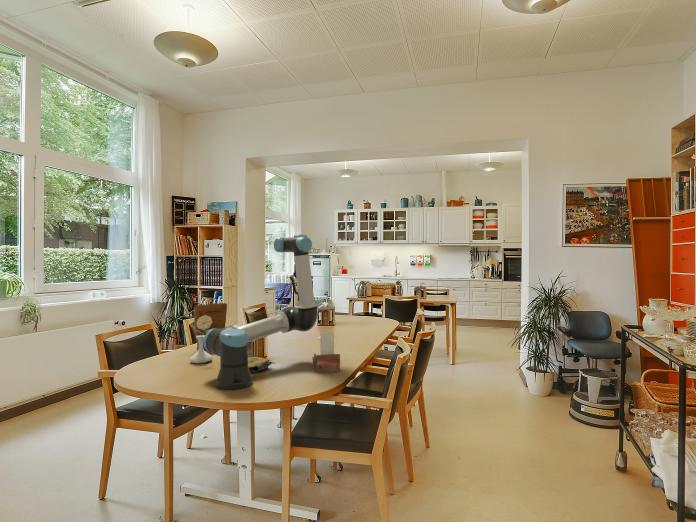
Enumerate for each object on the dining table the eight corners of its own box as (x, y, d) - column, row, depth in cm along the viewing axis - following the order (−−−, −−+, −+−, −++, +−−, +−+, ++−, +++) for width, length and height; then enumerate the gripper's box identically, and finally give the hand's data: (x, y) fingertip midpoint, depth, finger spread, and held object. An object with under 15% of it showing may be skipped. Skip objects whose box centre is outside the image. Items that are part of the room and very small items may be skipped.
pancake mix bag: (228, 349, 245) (227, 303, 245) (194, 352, 239) (193, 304, 238) (227, 347, 252) (226, 302, 251) (194, 350, 245) (193, 303, 245)
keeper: (320, 363, 203) (320, 331, 202) (332, 362, 204) (332, 331, 204) (322, 366, 197) (321, 333, 196) (334, 366, 198) (334, 333, 198)
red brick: (312, 360, 218) (312, 345, 218) (332, 359, 220) (332, 344, 220) (317, 372, 194) (317, 356, 194) (340, 371, 196) (340, 354, 196)
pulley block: (236, 348, 219) (275, 356, 201) (237, 359, 220) (277, 367, 202) (214, 358, 208) (254, 367, 190) (215, 369, 208) (255, 379, 191)
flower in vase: (184, 363, 213) (184, 316, 213) (199, 358, 224) (198, 313, 224) (205, 365, 209) (205, 317, 209) (219, 360, 220) (218, 314, 220)
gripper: (312, 263, 224) (312, 305, 224) (288, 263, 222) (289, 306, 222) (313, 263, 217) (314, 307, 217) (289, 263, 214) (289, 308, 214)
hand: (301, 307), depth 219 cm, fingers closed
